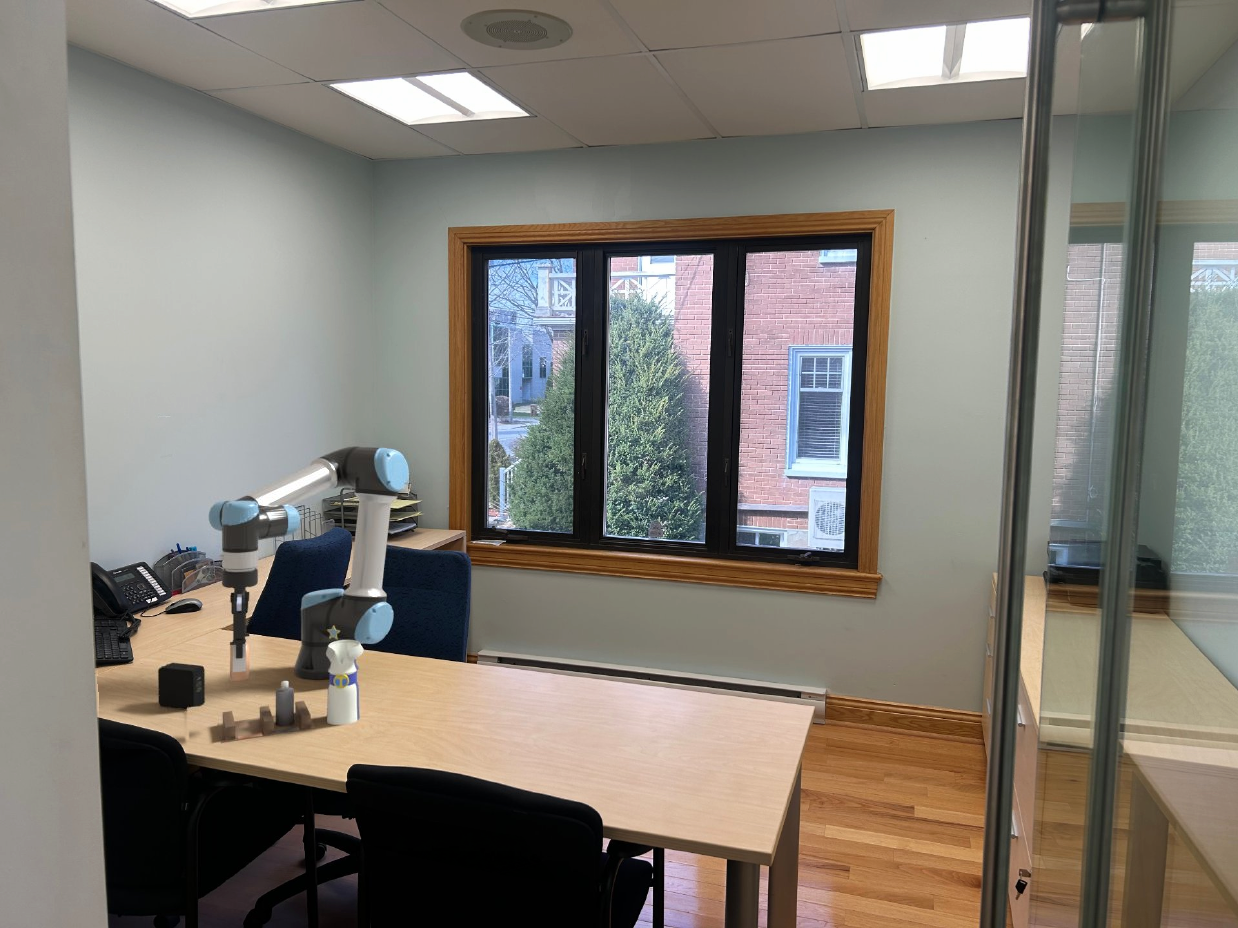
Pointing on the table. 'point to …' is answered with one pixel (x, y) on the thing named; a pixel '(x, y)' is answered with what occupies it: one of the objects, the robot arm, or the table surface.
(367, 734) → the table surface
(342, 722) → the white costume bottle
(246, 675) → the peach bottle
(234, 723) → the rack
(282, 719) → the grey bottle
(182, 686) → the electronic device
